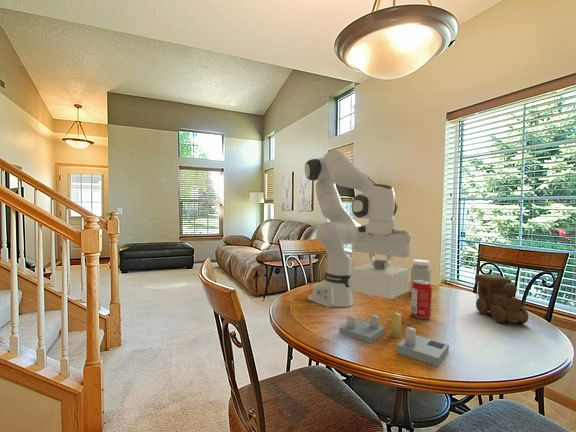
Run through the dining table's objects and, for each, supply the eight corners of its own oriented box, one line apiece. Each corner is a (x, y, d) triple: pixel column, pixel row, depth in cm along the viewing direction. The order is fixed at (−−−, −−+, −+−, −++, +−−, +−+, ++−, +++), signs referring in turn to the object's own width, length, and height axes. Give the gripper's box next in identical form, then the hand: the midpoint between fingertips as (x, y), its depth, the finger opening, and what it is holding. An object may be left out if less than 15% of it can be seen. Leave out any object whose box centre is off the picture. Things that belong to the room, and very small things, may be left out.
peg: (390, 336, 106) (390, 313, 106) (393, 333, 108) (394, 311, 108) (398, 338, 104) (399, 316, 104) (401, 336, 106) (402, 314, 106)
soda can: (407, 316, 126) (409, 281, 126) (414, 312, 132) (415, 278, 132) (427, 321, 121) (428, 285, 121) (433, 316, 127) (434, 281, 126)
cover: (350, 290, 108) (350, 259, 107) (370, 283, 119) (370, 255, 119) (390, 299, 97) (391, 266, 97) (408, 290, 109) (409, 260, 108)
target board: (396, 352, 94) (397, 329, 94) (410, 340, 103) (411, 319, 103) (437, 366, 86) (438, 341, 86) (448, 352, 95) (449, 328, 95)
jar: (433, 296, 157) (434, 262, 157) (414, 295, 157) (415, 261, 157) (424, 291, 167) (426, 259, 167) (407, 290, 167) (408, 258, 167)
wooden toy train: (471, 309, 138) (473, 273, 137) (496, 310, 138) (497, 274, 137) (503, 326, 118) (504, 285, 117) (531, 327, 118) (533, 285, 117)
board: (339, 332, 108) (339, 316, 108) (355, 323, 117) (356, 308, 117) (370, 343, 100) (370, 325, 100) (385, 332, 109) (385, 316, 109)
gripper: (413, 230, 103) (412, 270, 103) (360, 226, 117) (359, 262, 117) (406, 231, 98) (405, 272, 99) (352, 227, 112) (351, 264, 112)
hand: (380, 266), depth 108 cm, fingers closed on cover, 3 cm apart
